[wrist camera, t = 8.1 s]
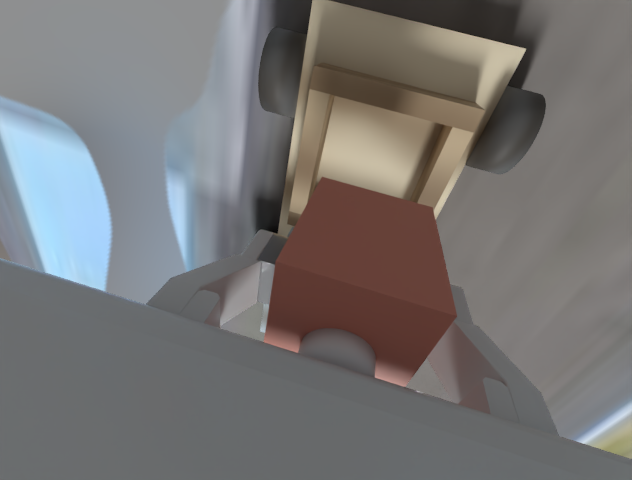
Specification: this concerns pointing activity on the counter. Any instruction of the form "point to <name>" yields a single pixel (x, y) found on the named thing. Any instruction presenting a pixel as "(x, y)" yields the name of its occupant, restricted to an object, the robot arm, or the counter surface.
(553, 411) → the counter surface
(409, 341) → the block
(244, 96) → the counter surface
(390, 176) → the chassis
